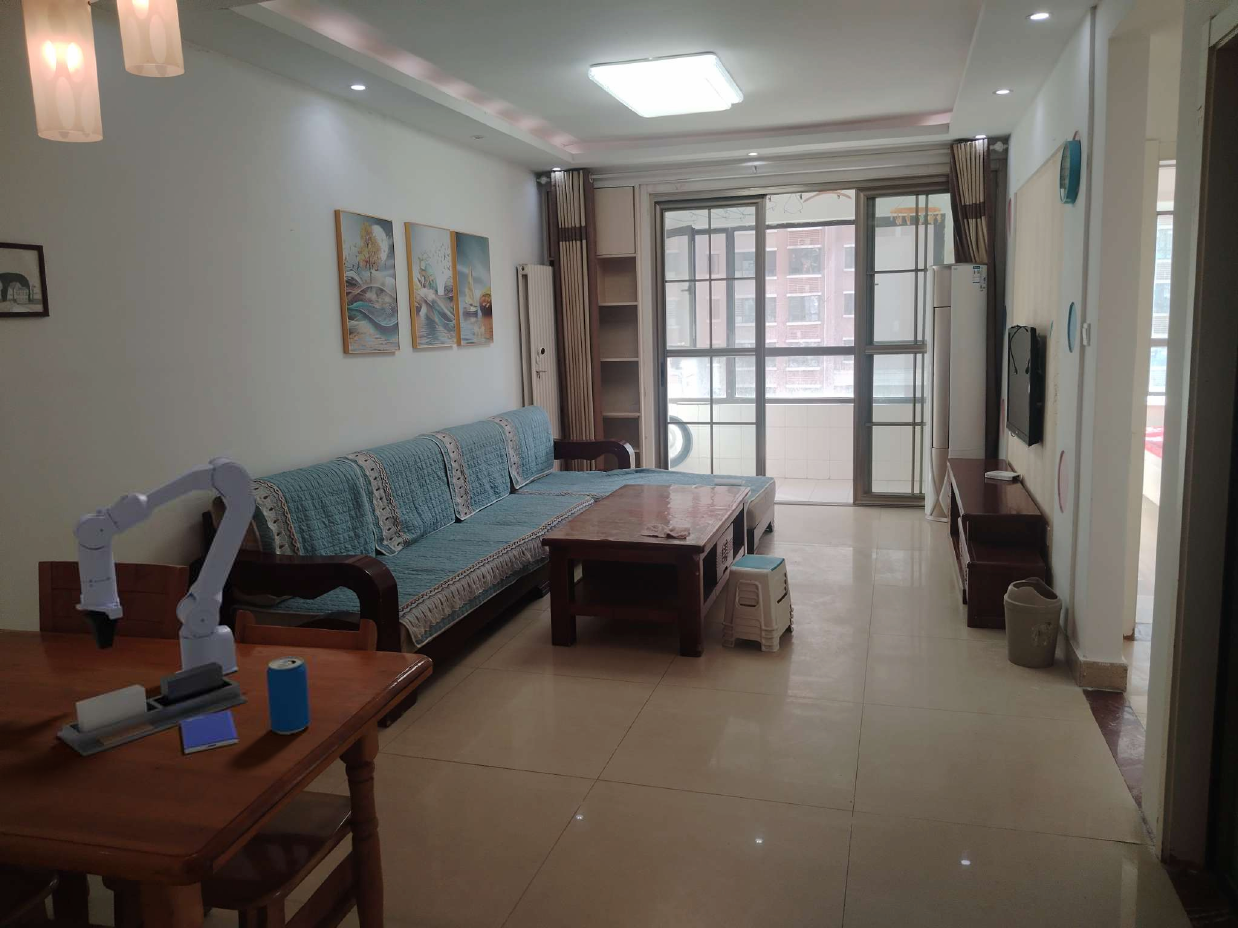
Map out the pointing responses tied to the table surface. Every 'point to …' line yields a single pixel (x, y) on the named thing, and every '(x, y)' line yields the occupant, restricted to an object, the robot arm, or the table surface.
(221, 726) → the hard drive
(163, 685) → the drive rack
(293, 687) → the beverage can
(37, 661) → the table surface
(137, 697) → the panel
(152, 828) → the table surface
